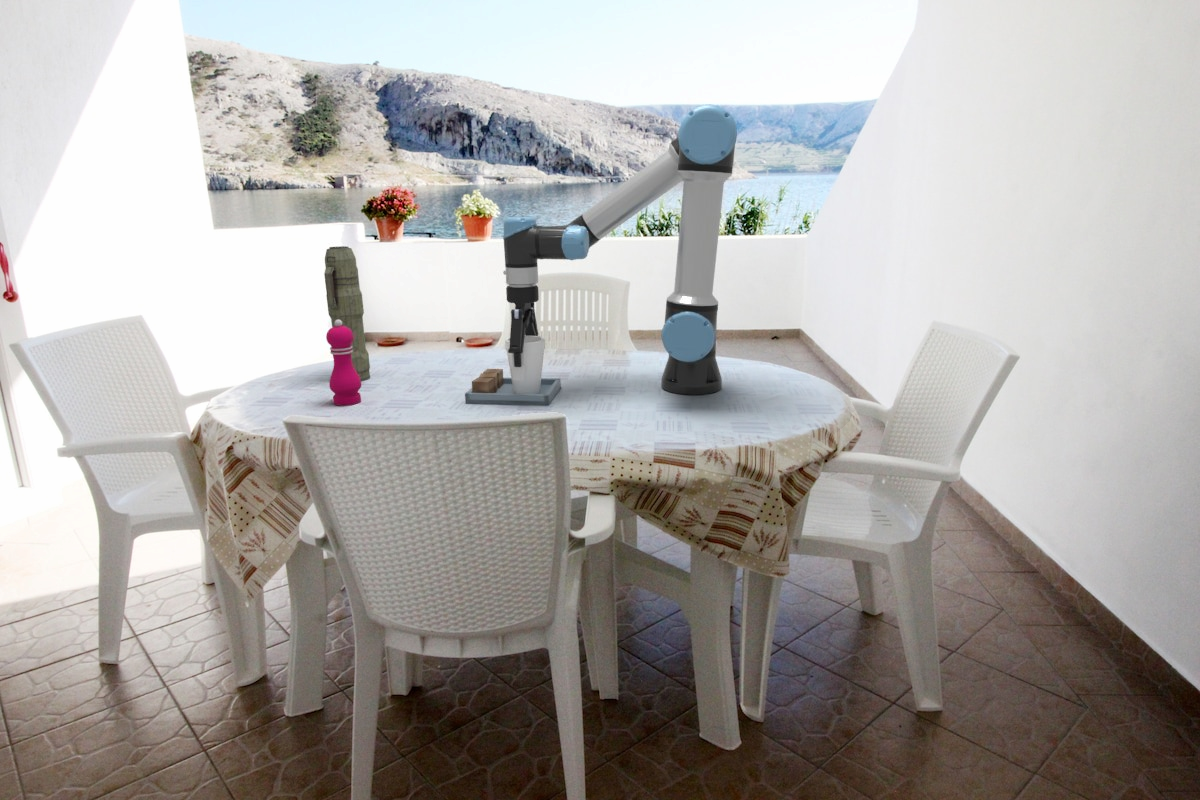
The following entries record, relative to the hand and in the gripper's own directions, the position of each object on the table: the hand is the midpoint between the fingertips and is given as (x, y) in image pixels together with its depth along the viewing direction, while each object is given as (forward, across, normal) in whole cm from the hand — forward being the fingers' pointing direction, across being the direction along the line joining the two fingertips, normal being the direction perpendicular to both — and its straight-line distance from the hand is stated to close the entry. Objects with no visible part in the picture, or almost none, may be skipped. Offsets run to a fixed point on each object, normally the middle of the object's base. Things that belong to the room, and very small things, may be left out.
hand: (525, 373), depth 173 cm
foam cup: (+5, 0, 0) cm, 5 cm away
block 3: (+5, -4, -10) cm, 12 cm away
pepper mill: (+6, +9, -42) cm, 43 cm away
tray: (+6, 0, -3) cm, 6 cm away
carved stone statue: (+6, -13, -51) cm, 53 cm away
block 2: (+5, 0, -10) cm, 11 cm away
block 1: (+5, +4, -10) cm, 12 cm away
